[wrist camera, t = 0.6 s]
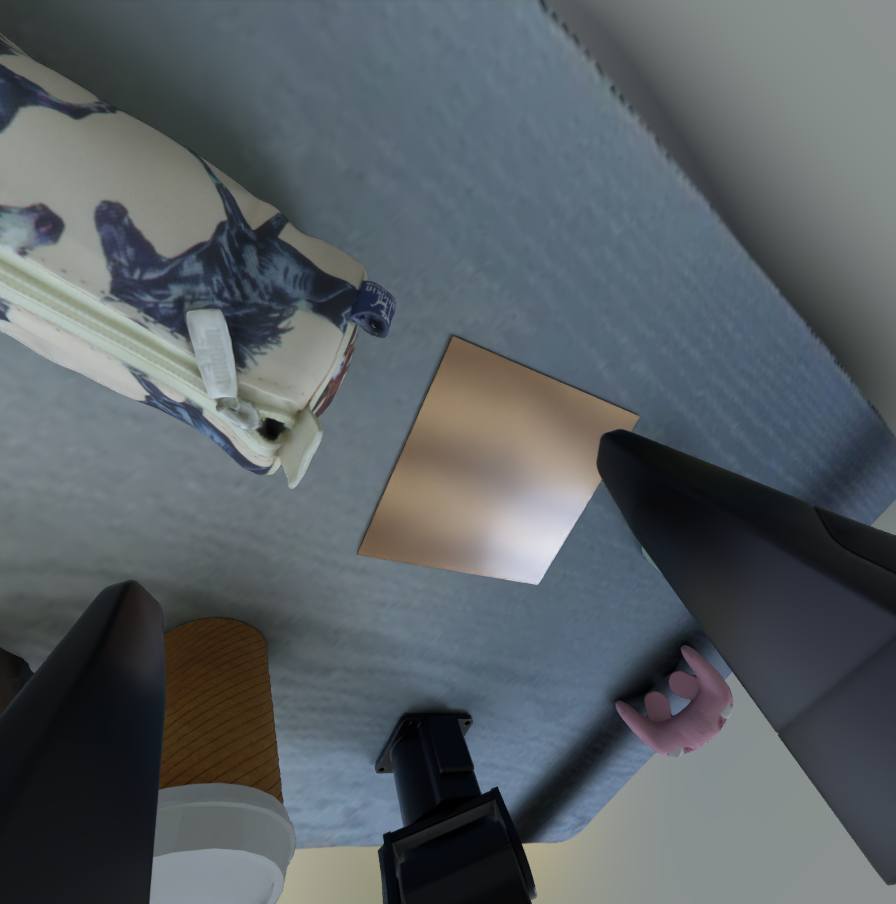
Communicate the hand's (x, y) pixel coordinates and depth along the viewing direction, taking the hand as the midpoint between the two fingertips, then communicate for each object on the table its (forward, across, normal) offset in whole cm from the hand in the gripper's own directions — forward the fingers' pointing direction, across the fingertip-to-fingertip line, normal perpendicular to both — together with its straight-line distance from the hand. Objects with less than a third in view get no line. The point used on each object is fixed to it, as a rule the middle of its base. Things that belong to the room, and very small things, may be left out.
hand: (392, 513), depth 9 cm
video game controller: (+6, -21, +42) cm, 48 cm away
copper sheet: (+12, -7, +14) cm, 20 cm away
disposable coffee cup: (+11, +12, +19) cm, 26 cm away
